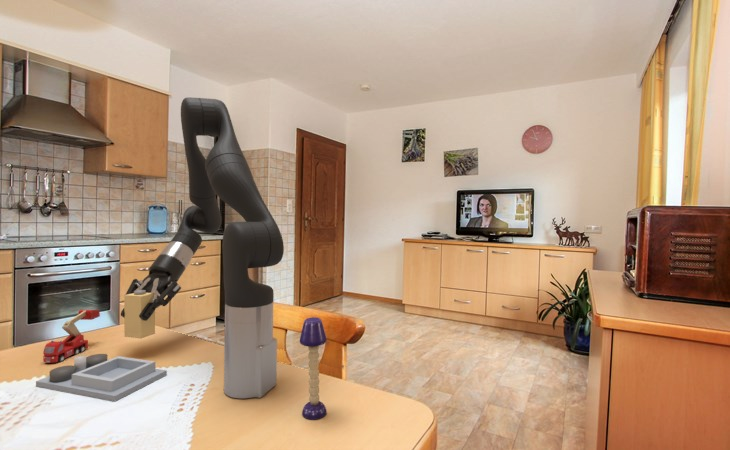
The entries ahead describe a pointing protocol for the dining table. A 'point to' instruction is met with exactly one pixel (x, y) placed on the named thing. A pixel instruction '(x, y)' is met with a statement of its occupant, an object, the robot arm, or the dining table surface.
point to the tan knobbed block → (137, 315)
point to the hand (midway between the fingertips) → (133, 317)
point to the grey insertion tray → (102, 376)
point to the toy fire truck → (69, 339)
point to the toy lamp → (313, 365)
